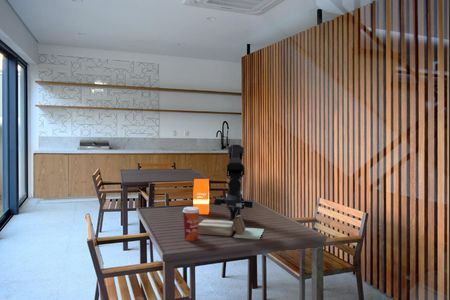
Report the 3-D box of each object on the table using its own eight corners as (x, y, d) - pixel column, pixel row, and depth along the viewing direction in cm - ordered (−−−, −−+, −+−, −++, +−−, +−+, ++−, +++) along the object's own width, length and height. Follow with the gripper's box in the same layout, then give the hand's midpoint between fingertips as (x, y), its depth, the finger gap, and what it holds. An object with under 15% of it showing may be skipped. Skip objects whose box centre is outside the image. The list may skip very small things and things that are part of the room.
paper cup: (188, 242, 160) (188, 211, 159) (179, 238, 166) (179, 207, 165) (203, 239, 164) (203, 208, 163) (194, 235, 170) (194, 205, 170)
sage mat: (240, 228, 183) (240, 227, 183) (264, 230, 180) (264, 229, 180) (233, 237, 168) (233, 236, 168) (259, 239, 165) (259, 238, 165)
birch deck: (204, 226, 185) (204, 219, 185) (235, 229, 182) (235, 221, 181) (197, 233, 174) (197, 225, 173) (230, 235, 170) (230, 227, 170)
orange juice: (208, 214, 213) (208, 180, 212) (193, 214, 213) (193, 179, 212) (209, 211, 221) (209, 178, 220) (194, 211, 221) (194, 178, 220)
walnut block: (236, 216, 179) (241, 214, 179) (240, 229, 179) (245, 228, 178) (232, 220, 170) (237, 219, 170) (237, 234, 170) (242, 233, 170)
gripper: (211, 188, 169) (210, 222, 170) (251, 191, 165) (249, 226, 165) (217, 185, 180) (216, 217, 181) (255, 188, 175) (253, 220, 176)
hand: (233, 220), depth 175 cm, fingers closed
